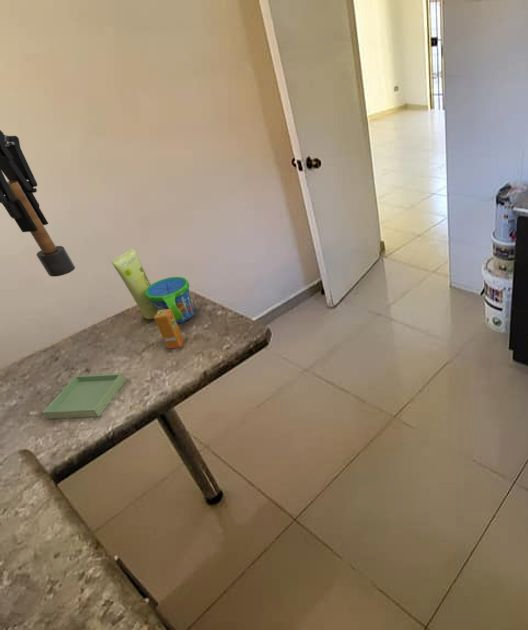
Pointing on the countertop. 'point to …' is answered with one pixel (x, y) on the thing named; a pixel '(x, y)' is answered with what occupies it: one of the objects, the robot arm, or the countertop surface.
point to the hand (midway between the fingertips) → (35, 227)
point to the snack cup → (172, 297)
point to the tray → (85, 396)
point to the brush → (44, 239)
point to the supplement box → (169, 328)
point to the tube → (135, 281)
